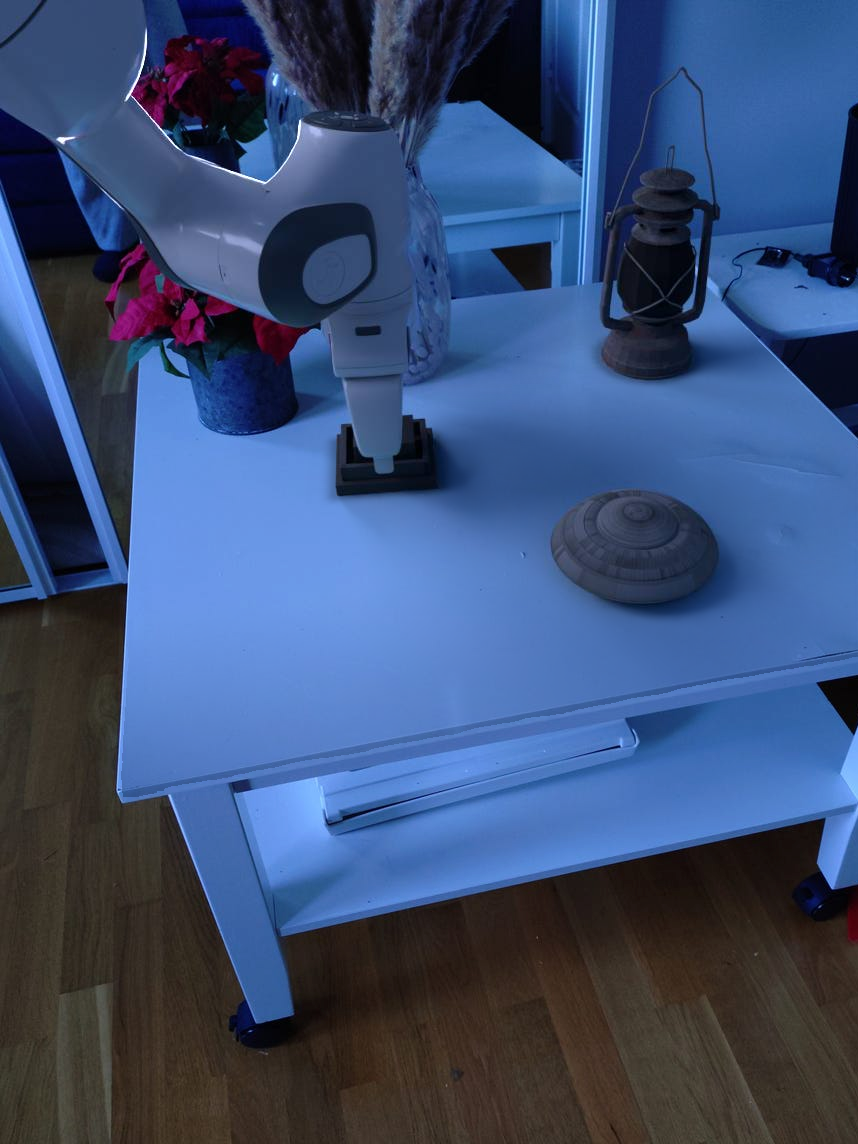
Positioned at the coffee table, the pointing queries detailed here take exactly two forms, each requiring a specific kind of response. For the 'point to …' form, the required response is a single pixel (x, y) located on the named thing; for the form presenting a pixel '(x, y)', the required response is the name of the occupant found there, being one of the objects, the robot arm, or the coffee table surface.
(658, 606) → the coffee table surface
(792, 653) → the coffee table surface
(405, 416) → the small block
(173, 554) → the coffee table surface
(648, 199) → the lantern
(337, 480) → the black open box
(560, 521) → the flying saucer
